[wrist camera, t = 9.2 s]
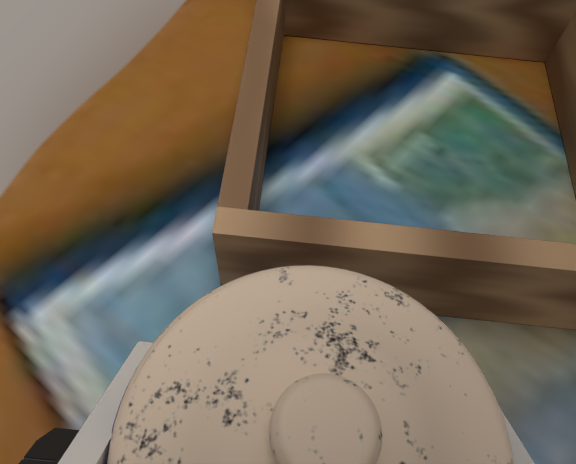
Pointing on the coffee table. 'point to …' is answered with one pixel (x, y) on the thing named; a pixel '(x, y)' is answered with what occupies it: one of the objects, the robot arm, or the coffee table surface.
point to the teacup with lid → (308, 380)
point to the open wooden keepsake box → (393, 238)
